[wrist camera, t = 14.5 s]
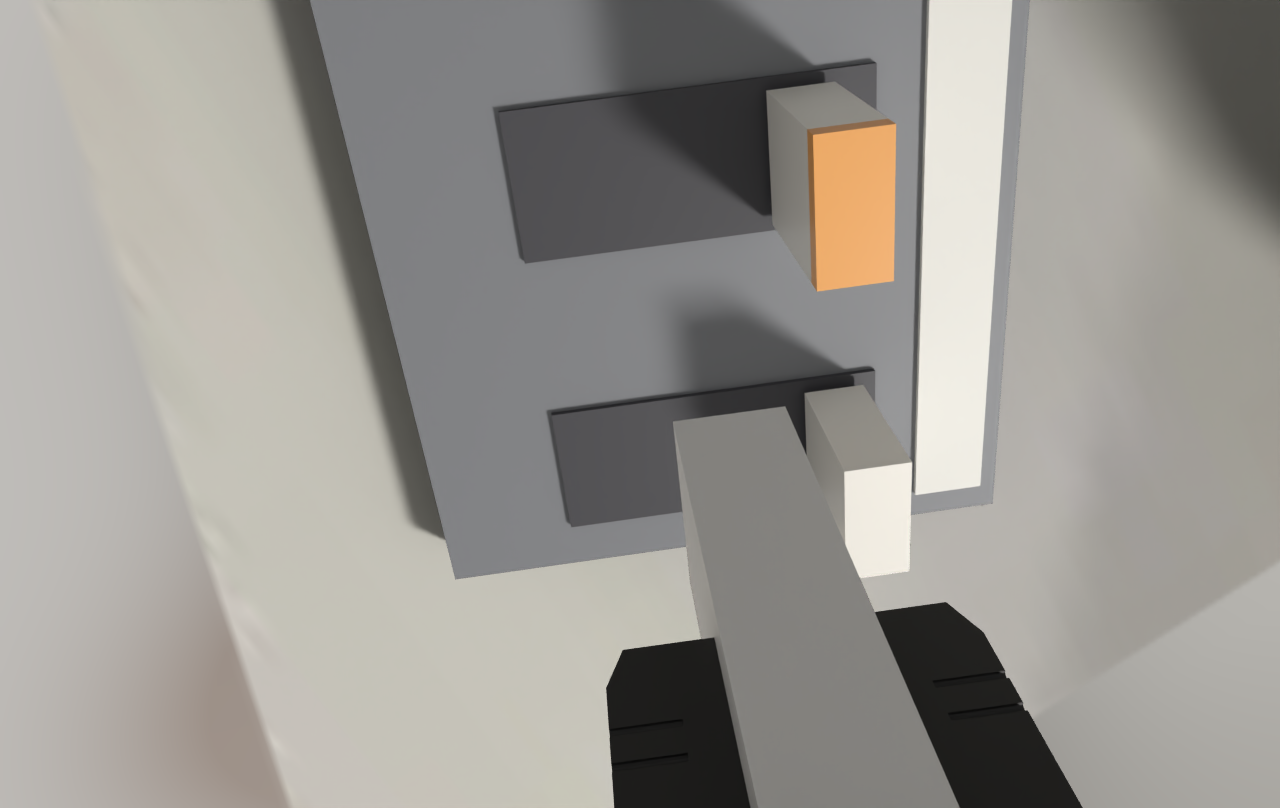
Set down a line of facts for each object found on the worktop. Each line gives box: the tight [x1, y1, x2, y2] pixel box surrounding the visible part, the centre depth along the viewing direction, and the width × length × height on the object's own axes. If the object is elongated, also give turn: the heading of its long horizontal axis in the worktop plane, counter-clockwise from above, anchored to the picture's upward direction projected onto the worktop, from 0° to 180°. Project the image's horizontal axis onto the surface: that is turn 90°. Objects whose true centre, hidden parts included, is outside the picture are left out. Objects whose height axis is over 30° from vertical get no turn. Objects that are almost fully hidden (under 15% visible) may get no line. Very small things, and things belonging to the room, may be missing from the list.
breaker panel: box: [310, 0, 1030, 579], centre depth 30 cm, size 28×20×2 cm
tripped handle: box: [766, 82, 896, 292], centre depth 27 cm, size 4×2×6 cm, turn 6°
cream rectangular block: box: [804, 385, 912, 578], centre depth 32 cm, size 4×2×5 cm, turn 6°
